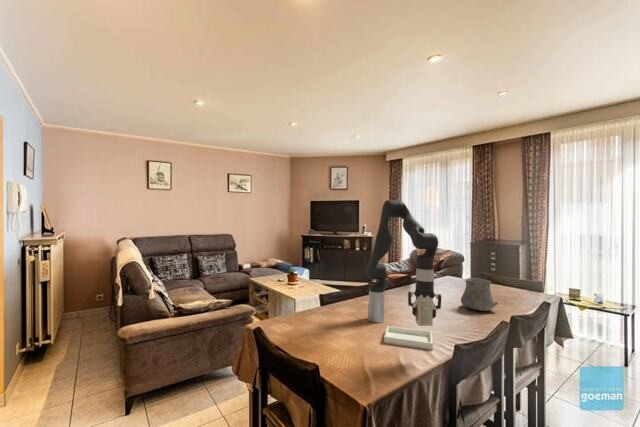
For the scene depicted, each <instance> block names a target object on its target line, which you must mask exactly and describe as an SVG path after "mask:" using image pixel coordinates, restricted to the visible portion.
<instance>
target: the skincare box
mask: <svg viewBox="0 0 640 427" xmlns="http://www.w3.org/2000/svg"><path fill="white" fill-rule="evenodd" d="M417 299H418V304H417V305H416V316H415V323H416V324H417V325H418V326H419V327H423V326H424V327H426V326H427V327H430V326H431V327H433V325H434V324H433V323H434V322H433V320H434V318H433V307H432V306H431V304H430V303H429V301H428V300H427V298H426V297H417V298H416V297H415V300H417ZM430 299H431V300H432V302H434V298H430Z"/></svg>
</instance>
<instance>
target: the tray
mask: <svg viewBox="0 0 640 427" xmlns="http://www.w3.org/2000/svg"><path fill="white" fill-rule="evenodd" d="M433 341H434V340H433V331H431V330H423V329H415V328H409V327H400V326H391V325H387V327H386V330H385V333H384V335H383V343H384V344H389V345H395V346H402V347H409V348H415V349H423V350H430V351H433V350H434V349H433V348H434V347H433V345H434V342H433Z"/></svg>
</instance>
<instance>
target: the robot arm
mask: <svg viewBox="0 0 640 427" xmlns="http://www.w3.org/2000/svg"><path fill="white" fill-rule="evenodd" d="M391 218H393V219H395V218H401V219H402V220H403V221H402V227H403V230H404V231H405V232H406V233H407V235H408V236H410V239H411V243H412V245H413V247H414V248H416V249H418V250H425V251H424V253H422V254H418V255H417V257H416V269H415V290H414V291H411V290H409V291H408V292H407V305H408V306H409V307H411V309H412V311H411V312H412V314H411V315H412V316H413V317H416V305H417V304H418V299H417V300H416V298H417V297H426V298H427V300H428V301H429V303H430V304H431V306H432V307H433V319H435V318H436V317H437V310H440V309H441V308H442V294H441V293H438V294H437V293H435V291H434V290H435V288H434V287H435V271H434V267H435V266H434V262H435V261H434V260H435V257H436V254H437V250H438V247H439V238H438V236H437V235H436V234H435V233H431V232H429V233H426V232H425V229H424V226H422V225H421V224H420V223H419V222H418V221H417V220H416V219H415V218H414V216H413V215H412V213H411V211H410V209H409V208H408V206H407V205H406V203H405V202H403V201H402V200H399V199H387V200H385V201H384V202H383V204H382V208H381V215H380V219H379V220H380V221H379V225H378V229H377V234H376V236H375V240H374V244H373V249H372V252H371V255H370V258H369V262H368V264H367V266H366V278H368V279H369V280H375V281H376V282H373V283H372V284H370V285H369V288H368V304H367V321H369V322H372V323H384V322H385V316H386V315H385V312H386V308H385V303H386V286H387V266H386V265H385V264H384V263H379V262H380V261H381V260H382V259H383V258H384V257H385V256H386V255H387V254H388V253H389V252H390V250H391V248H392V245H393V242H394V237H393V236H394V235H393V233H392V231H391V229H390V220H391ZM413 296H415V300H414V302H412V297H413ZM430 298H433V299H434V298H435V299H436V300H437V305H436V304H435V303H434V301H433V302H432V300H431V299H430Z"/></svg>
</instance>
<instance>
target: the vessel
mask: <svg viewBox="0 0 640 427" xmlns="http://www.w3.org/2000/svg"><path fill="white" fill-rule="evenodd" d="M491 284H492V282H491V280H487V279H485V278H480V277H469V278H468V277H467V278H465V289H464V291H463V293H462V296H461V298H460V303H461V304H462V306H463V307H465V308H468V309H470V310H473V311H477V310H478V311H479V312H488V311H491V310H493V309H494V308H495V307H496V306H497V305H498V304H499V303H498V301H494V298H493V295H492V292H491Z"/></svg>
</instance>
